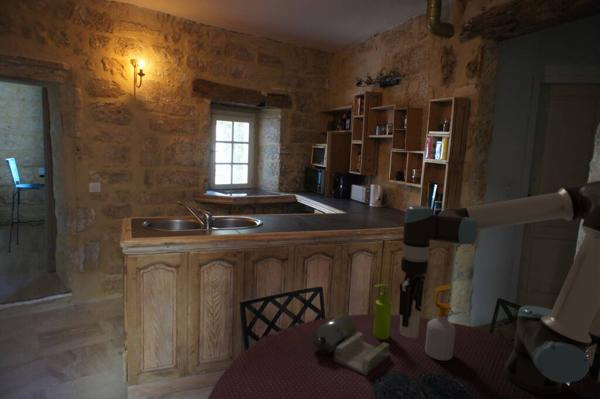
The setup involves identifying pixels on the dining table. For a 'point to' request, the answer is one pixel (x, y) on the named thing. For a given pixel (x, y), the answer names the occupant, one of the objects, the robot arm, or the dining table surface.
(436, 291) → the soap bottle
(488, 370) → the dining table surface
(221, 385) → the dining table surface
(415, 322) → the eye dropper bottle
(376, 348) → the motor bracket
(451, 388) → the dining table surface
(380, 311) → the soap dispenser
